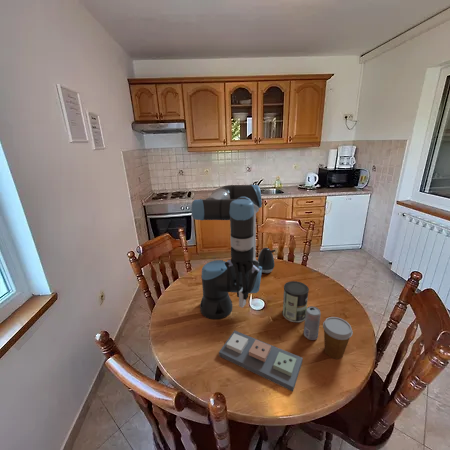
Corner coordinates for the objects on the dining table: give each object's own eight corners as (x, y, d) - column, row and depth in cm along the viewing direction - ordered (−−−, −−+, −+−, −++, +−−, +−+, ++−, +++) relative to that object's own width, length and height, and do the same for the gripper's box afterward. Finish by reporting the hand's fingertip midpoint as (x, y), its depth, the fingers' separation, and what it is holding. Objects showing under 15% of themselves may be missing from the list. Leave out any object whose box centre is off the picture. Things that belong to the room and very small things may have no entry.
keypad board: (219, 356, 87) (218, 352, 86) (234, 334, 97) (234, 330, 96) (292, 391, 74) (293, 387, 73) (302, 362, 84) (302, 357, 83)
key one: (226, 350, 88) (226, 343, 87) (234, 339, 93) (234, 332, 92) (241, 357, 86) (241, 350, 84) (248, 345, 90) (248, 338, 89)
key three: (273, 372, 80) (273, 364, 79) (278, 358, 85) (279, 351, 83) (290, 380, 77) (291, 372, 76) (295, 366, 82) (296, 358, 80)
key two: (248, 358, 84) (248, 351, 83) (255, 346, 89) (255, 339, 87) (264, 365, 81) (265, 358, 80) (270, 353, 86) (271, 345, 85)
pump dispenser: (274, 276, 137) (275, 252, 132) (256, 274, 139) (256, 251, 134) (274, 267, 146) (275, 245, 141) (257, 266, 149) (258, 243, 144)
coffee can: (304, 308, 110) (307, 281, 106) (307, 324, 101) (310, 295, 96) (282, 305, 112) (283, 280, 108) (282, 321, 103) (284, 293, 98)
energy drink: (314, 330, 97) (317, 305, 94) (320, 340, 92) (323, 314, 88) (301, 330, 97) (304, 306, 93) (306, 340, 92) (309, 315, 88)
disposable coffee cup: (324, 337, 94) (328, 312, 90) (351, 349, 88) (356, 323, 84) (316, 353, 87) (319, 327, 83) (344, 367, 81) (349, 340, 77)
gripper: (219, 246, 79) (222, 305, 87) (255, 255, 72) (254, 317, 80) (230, 238, 85) (232, 294, 93) (264, 246, 78) (263, 304, 86)
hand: (242, 304), depth 87 cm, fingers closed
